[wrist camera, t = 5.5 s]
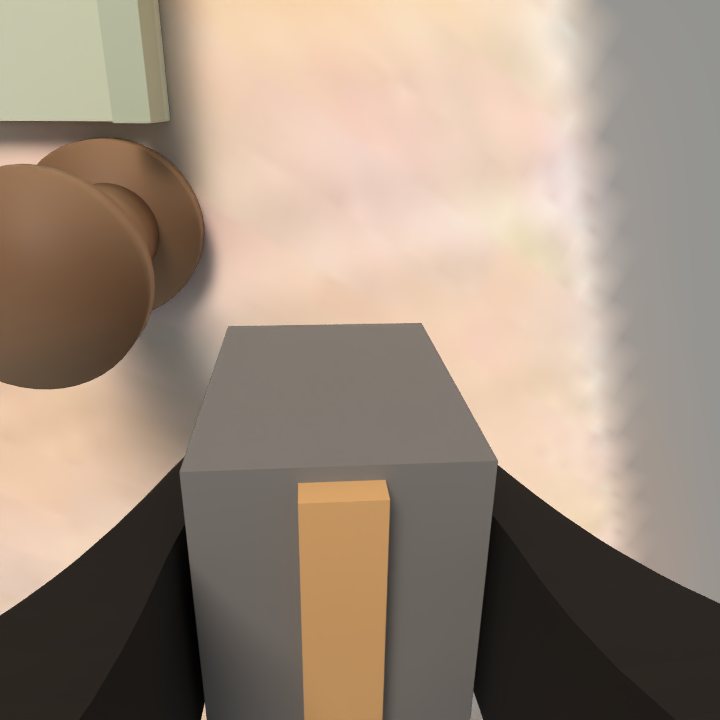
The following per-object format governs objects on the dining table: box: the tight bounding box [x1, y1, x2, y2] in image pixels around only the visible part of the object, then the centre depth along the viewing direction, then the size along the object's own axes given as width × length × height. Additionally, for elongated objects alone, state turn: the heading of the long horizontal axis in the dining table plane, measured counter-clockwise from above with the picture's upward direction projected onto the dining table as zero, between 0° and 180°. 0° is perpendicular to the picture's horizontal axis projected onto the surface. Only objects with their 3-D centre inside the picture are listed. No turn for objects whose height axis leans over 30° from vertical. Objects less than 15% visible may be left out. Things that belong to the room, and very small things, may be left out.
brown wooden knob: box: [0, 138, 204, 389], centre depth 14 cm, size 4×4×6 cm
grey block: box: [180, 323, 498, 720], centre depth 10 cm, size 5×4×5 cm
